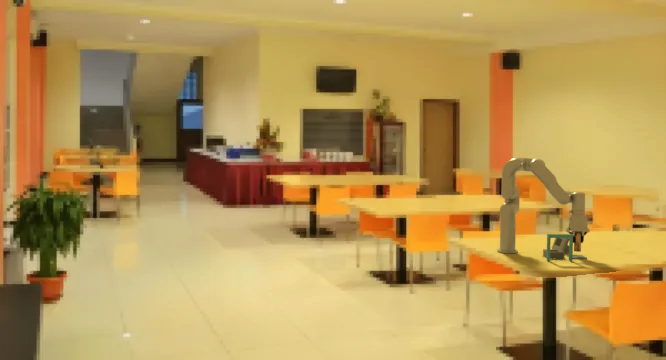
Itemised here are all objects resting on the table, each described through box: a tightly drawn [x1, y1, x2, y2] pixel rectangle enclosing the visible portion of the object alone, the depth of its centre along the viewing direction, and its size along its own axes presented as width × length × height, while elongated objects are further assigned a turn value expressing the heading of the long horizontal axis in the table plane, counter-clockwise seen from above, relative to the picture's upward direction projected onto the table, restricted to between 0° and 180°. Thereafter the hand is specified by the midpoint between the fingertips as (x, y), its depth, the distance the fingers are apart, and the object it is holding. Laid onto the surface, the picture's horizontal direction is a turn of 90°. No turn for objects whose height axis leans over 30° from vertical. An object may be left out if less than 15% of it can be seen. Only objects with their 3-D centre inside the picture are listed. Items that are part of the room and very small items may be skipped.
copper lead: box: [573, 232, 582, 252], centre depth 418 cm, size 4×4×12 cm
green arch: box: [546, 233, 574, 262], centre depth 407 cm, size 3×14×16 cm, turn 88°
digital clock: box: [551, 238, 569, 254], centre depth 438 cm, size 16×9×11 cm, turn 173°
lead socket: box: [542, 248, 566, 260], centre depth 420 cm, size 10×10×4 cm
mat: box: [566, 254, 588, 260], centre depth 419 cm, size 10×9×1 cm
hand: (577, 242), depth 418 cm, fingers closed on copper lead, 4 cm apart
